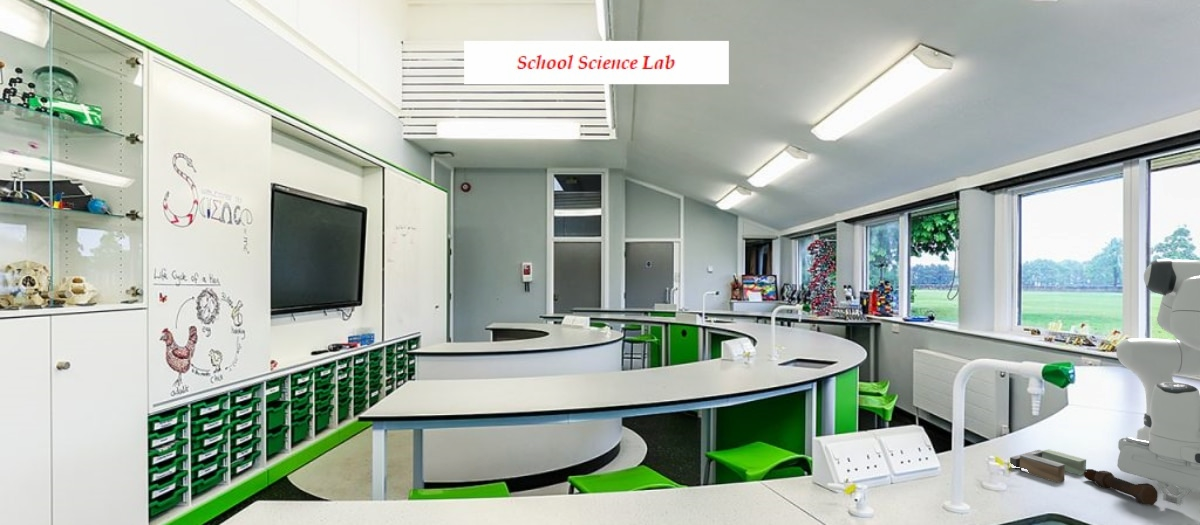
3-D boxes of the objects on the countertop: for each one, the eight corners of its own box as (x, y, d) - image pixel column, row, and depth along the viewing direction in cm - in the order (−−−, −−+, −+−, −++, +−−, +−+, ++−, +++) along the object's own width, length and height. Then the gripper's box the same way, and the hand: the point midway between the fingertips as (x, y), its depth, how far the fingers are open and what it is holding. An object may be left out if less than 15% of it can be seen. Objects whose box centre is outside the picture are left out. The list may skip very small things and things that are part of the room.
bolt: (1090, 486, 146) (1152, 510, 131) (1076, 478, 146) (1137, 501, 131) (1098, 468, 146) (1161, 490, 132) (1085, 460, 146) (1146, 480, 131)
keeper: (1038, 459, 161) (1039, 444, 161) (1085, 473, 151) (1086, 457, 151) (1009, 467, 154) (1010, 452, 154) (1057, 482, 143) (1057, 466, 143)
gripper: (1113, 436, 137) (1112, 487, 137) (1231, 464, 119) (1230, 523, 119) (1123, 433, 140) (1122, 483, 140) (1240, 460, 122) (1239, 518, 122)
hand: (1172, 502), depth 129 cm, fingers closed
